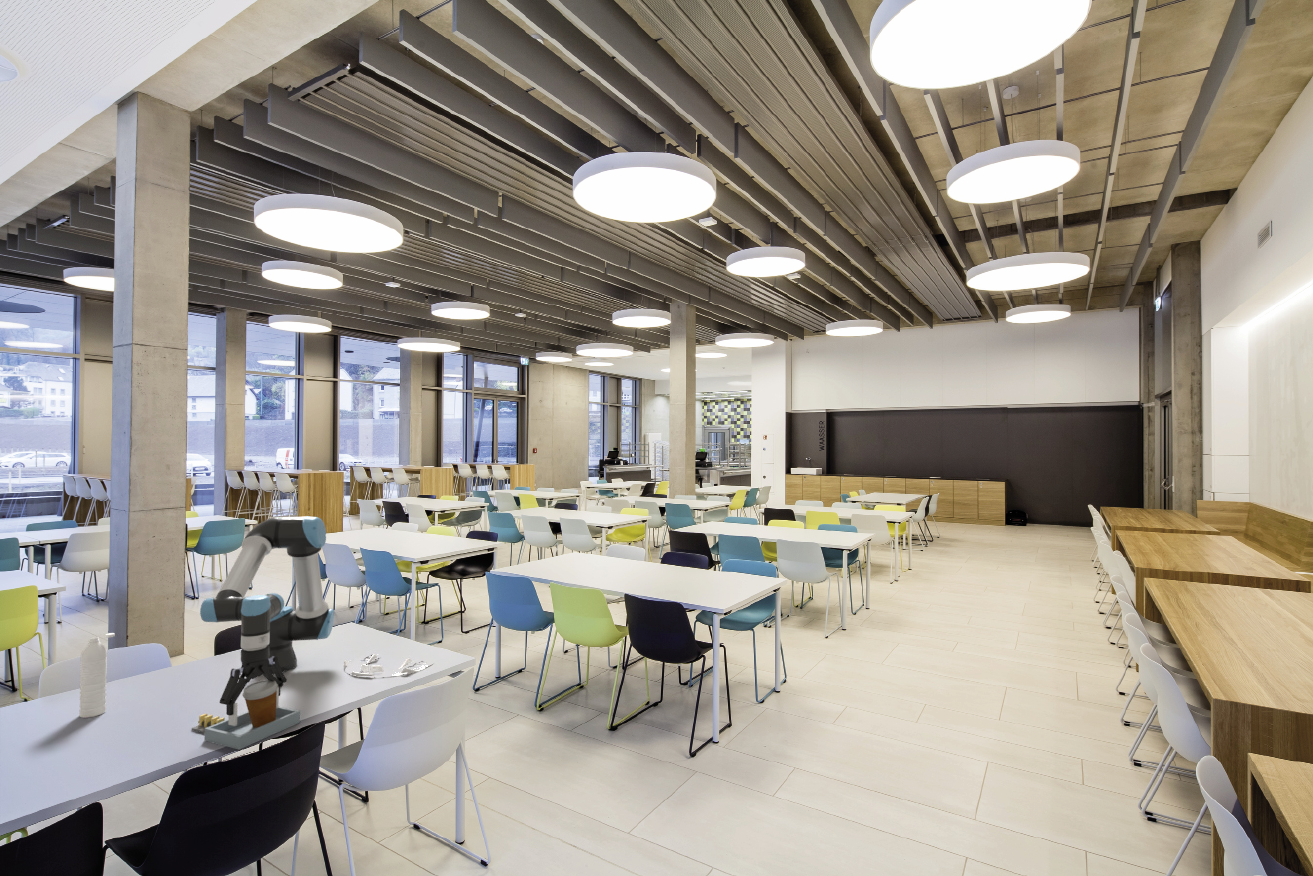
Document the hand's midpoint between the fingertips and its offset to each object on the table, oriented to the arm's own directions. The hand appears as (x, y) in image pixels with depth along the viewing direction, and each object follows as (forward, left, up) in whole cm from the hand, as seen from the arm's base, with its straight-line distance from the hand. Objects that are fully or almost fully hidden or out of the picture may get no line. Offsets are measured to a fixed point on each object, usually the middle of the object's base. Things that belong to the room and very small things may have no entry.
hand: (254, 716), depth 197 cm
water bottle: (-60, -10, -5) cm, 61 cm away
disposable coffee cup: (0, +3, -3) cm, 5 cm away
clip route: (-13, -4, -5) cm, 14 cm away
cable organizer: (-7, +59, -5) cm, 60 cm away
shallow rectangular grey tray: (0, 0, -5) cm, 5 cm away
